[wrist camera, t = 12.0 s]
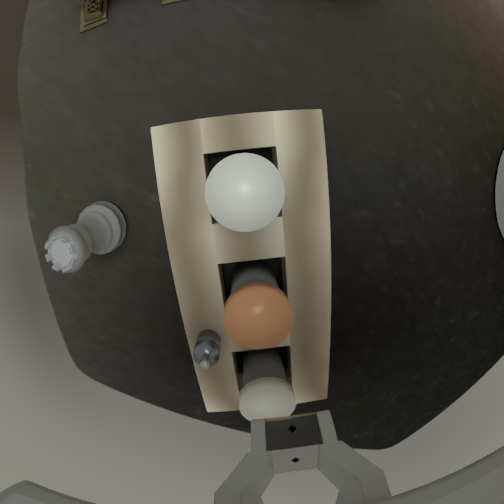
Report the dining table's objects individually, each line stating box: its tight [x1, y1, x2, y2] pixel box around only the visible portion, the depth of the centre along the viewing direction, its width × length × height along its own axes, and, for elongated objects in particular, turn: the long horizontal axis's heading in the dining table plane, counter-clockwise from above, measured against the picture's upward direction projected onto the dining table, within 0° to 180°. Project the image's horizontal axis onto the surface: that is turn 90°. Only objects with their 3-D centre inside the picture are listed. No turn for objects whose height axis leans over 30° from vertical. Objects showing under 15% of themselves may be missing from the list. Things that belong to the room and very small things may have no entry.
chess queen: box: [44, 201, 126, 273], centre depth 20 cm, size 4×4×8 cm
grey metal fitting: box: [193, 330, 221, 370], centre depth 23 cm, size 2×2×4 cm
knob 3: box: [239, 347, 296, 421], centre depth 25 cm, size 4×4×7 cm
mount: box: [151, 109, 331, 412], centre depth 25 cm, size 12×26×3 cm, turn 6°
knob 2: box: [224, 259, 293, 349], centre depth 22 cm, size 4×4×7 cm
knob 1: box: [205, 153, 285, 232], centre depth 20 cm, size 4×4×7 cm
